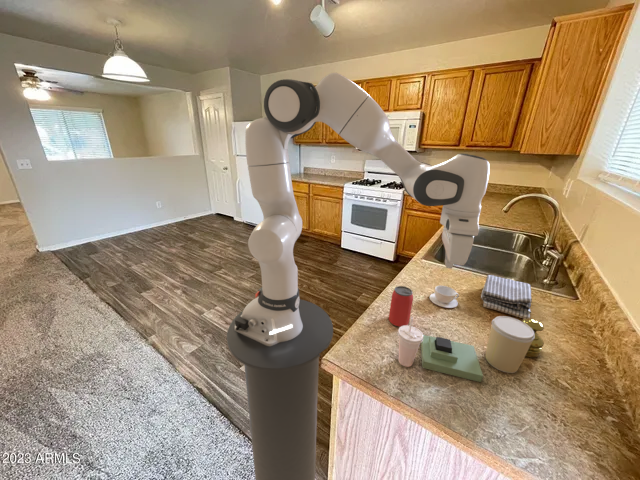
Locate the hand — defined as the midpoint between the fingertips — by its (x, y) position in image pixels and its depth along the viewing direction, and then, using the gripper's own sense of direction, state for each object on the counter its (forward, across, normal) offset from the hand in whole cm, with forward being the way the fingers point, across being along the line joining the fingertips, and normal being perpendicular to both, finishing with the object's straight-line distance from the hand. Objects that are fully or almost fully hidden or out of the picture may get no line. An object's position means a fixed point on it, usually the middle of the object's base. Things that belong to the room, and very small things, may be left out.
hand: (448, 265), depth 74 cm
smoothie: (+24, +14, -8) cm, 29 cm away
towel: (+24, -29, +27) cm, 46 cm away
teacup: (+24, -22, +5) cm, 33 cm away
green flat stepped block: (+24, +10, +3) cm, 26 cm away
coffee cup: (+24, +5, +17) cm, 30 cm away
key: (+20, +10, +1) cm, 23 cm away
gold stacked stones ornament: (+24, -3, +25) cm, 35 cm away
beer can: (+24, -3, -10) cm, 26 cm away
